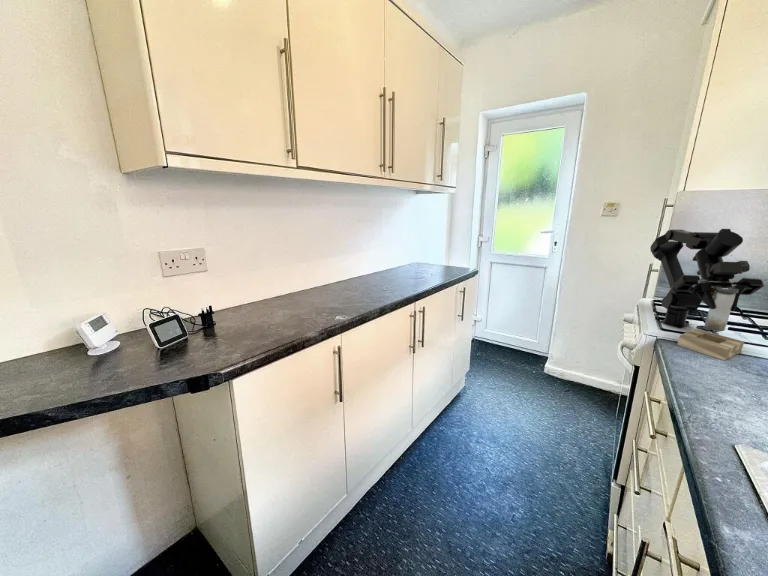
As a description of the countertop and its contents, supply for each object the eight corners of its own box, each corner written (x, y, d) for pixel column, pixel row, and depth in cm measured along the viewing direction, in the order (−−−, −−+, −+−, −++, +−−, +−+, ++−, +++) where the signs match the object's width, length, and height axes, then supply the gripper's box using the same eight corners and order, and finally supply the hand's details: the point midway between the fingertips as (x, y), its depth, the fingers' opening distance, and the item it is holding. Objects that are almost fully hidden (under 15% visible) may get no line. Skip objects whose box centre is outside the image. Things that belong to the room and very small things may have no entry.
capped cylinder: (707, 323, 99) (718, 284, 95) (729, 329, 94) (742, 288, 91) (699, 326, 97) (711, 286, 93) (721, 332, 92) (734, 290, 89)
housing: (694, 338, 105) (697, 328, 104) (741, 352, 95) (744, 341, 94) (677, 345, 100) (679, 335, 99) (724, 360, 90) (727, 349, 90)
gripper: (688, 249, 96) (699, 293, 89) (770, 251, 90) (789, 299, 83) (669, 268, 105) (678, 310, 98) (742, 272, 99) (757, 317, 92)
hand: (723, 309), depth 93 cm, fingers closed on capped cylinder, 4 cm apart
